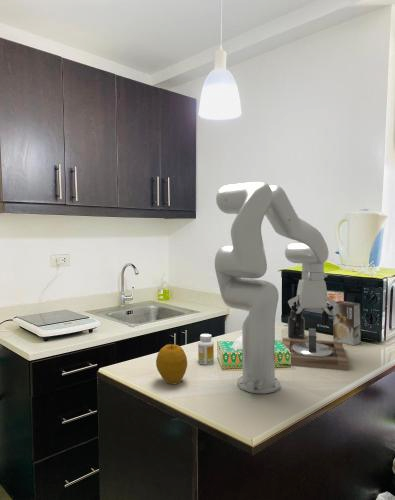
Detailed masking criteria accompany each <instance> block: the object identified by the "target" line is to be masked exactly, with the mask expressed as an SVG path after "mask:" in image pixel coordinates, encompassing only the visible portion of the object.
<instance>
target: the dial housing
mask: <svg viewBox="0 0 395 500" xmlns="http://www.w3.org/2000/svg"><path fill="white" fill-rule="evenodd" d="M304 342H309V339H306V338H304V339H292V338H288V337H282V340H281V345H282V344H284V345H285V346H286V347H287V348H288V349H289V350H290V352H291V365H292V366H294V367H303V368H305V367H306V368H314V369H315V368H317V369H326V370H327V369H329V370H341V371H349V360H348V356H347V354H346V352H345V348H344V344H343V343H342V342H337V341H333V340H322V339H321V340H319V339H316V343H319V344H324V345H327V346H329V347H331V348H332V349H333V355H332V356H331V357H323V356H310V355H297V354H294V353H293V352H292V346H293V345H294V344H297V343H304ZM291 365H290V366H291ZM292 366H291V367H292Z"/></svg>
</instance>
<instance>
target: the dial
mask: <svg viewBox="0 0 395 500" xmlns="http://www.w3.org/2000/svg"><path fill="white" fill-rule="evenodd" d="M316 331H317V330H316V328H311V327H310V328H308V340H309V342H304V343H297V344H294V345H293V346H292V352H293V353H294V354H297V355H310V356H323V357H331V356H332V355H333V349H332V348H331V347H329V346H327V345H324V344H319V343H316V340H317V332H316Z"/></svg>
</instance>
